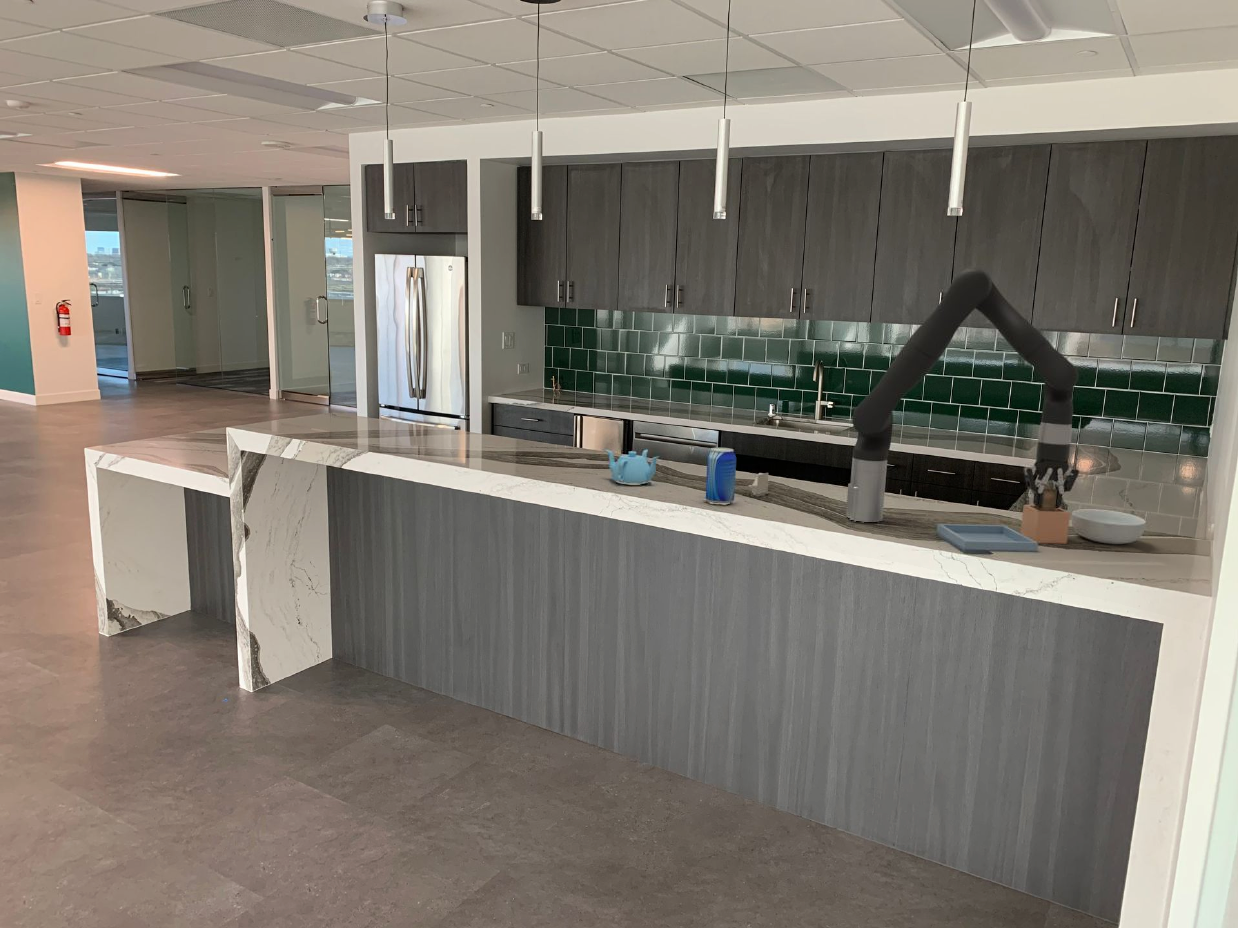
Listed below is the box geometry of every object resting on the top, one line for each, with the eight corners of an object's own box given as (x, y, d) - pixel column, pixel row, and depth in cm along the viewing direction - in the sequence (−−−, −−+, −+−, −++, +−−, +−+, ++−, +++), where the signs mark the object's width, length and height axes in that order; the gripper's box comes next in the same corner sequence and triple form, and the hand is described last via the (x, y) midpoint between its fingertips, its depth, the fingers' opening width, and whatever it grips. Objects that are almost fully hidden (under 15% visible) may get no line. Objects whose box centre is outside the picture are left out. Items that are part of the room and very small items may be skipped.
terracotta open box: (1035, 545, 234) (1038, 511, 233) (1020, 537, 242) (1023, 504, 241) (1066, 546, 235) (1070, 512, 233) (1050, 538, 243) (1054, 505, 241)
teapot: (614, 487, 291) (615, 455, 290) (603, 478, 306) (604, 447, 304) (659, 487, 295) (660, 455, 293) (646, 477, 309) (647, 447, 307)
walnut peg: (1039, 540, 236) (1044, 490, 234) (1031, 536, 240) (1037, 487, 238) (1054, 540, 237) (1060, 491, 234) (1046, 537, 240) (1052, 488, 238)
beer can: (719, 507, 268) (722, 452, 265) (699, 501, 274) (701, 448, 271) (739, 503, 273) (742, 450, 270) (719, 498, 279) (722, 446, 277)
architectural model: (747, 497, 285) (748, 473, 284) (760, 494, 291) (761, 471, 289) (756, 499, 283) (757, 475, 282) (769, 496, 288) (770, 472, 287)
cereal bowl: (1058, 540, 240) (1062, 514, 239) (1082, 531, 252) (1085, 506, 251) (1130, 554, 229) (1133, 526, 227) (1151, 544, 240) (1154, 517, 239)
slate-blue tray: (964, 553, 225) (965, 541, 224) (936, 535, 242) (937, 523, 242) (1036, 554, 225) (1038, 542, 225) (1003, 536, 243) (1004, 525, 243)
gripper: (1033, 442, 230) (1026, 509, 233) (1089, 443, 231) (1081, 511, 234) (1019, 438, 237) (1012, 503, 240) (1074, 439, 238) (1066, 504, 241)
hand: (1046, 506), depth 237 cm, fingers closed on walnut peg, 4 cm apart
